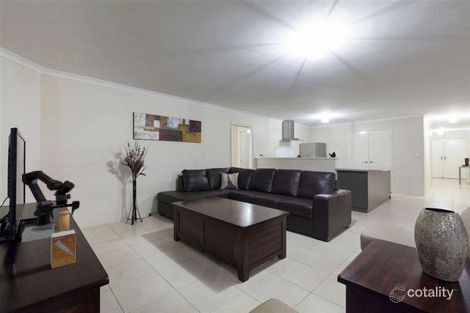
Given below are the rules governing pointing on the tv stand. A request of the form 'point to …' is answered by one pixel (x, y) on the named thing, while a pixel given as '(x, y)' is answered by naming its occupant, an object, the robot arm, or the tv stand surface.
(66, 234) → the small box
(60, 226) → the plug
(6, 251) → the tv stand surface
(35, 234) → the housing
